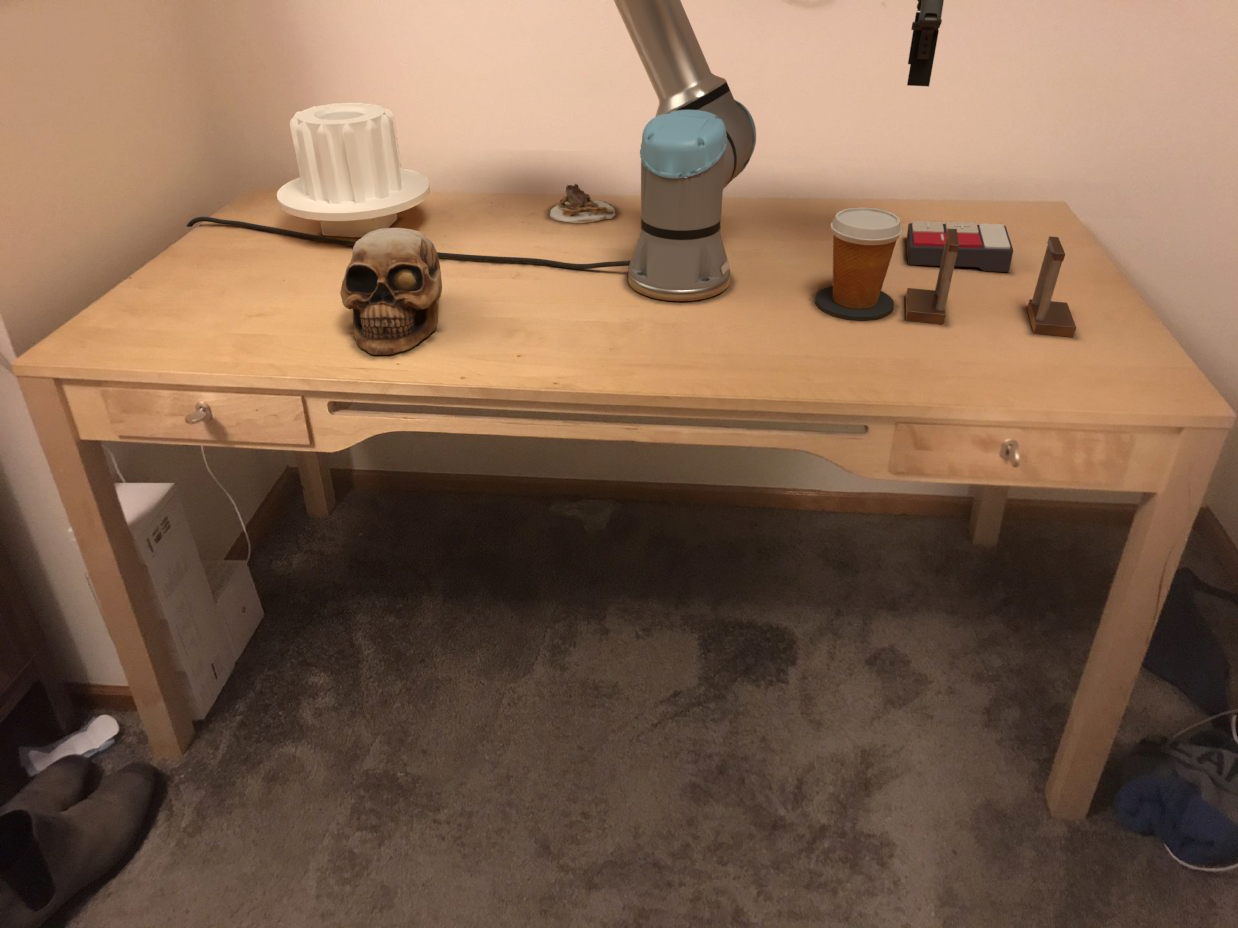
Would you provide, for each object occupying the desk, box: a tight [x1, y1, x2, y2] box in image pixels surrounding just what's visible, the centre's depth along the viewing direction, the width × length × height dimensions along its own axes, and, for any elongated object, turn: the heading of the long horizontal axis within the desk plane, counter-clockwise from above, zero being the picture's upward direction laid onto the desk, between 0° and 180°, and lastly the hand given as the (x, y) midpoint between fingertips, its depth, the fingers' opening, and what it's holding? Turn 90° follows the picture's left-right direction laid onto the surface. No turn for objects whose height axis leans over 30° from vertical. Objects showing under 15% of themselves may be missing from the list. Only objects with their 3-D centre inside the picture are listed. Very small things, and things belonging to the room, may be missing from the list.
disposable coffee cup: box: [830, 207, 903, 309], centre depth 125 cm, size 10×10×12 cm
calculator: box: [906, 220, 1014, 273], centre depth 142 cm, size 11×4×15 cm
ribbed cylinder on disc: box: [276, 101, 431, 239], centre depth 150 cm, size 25×25×19 cm
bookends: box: [905, 229, 1077, 338], centre depth 122 cm, size 22×8×11 cm, turn 76°
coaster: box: [814, 285, 895, 321], centre depth 129 cm, size 11×11×1 cm
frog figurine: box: [549, 183, 616, 224], centre depth 160 cm, size 12×12×4 cm
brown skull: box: [339, 227, 443, 356], centre depth 122 cm, size 16×17×13 cm
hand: (917, 74), depth 121 cm, fingers open, 13 cm apart
